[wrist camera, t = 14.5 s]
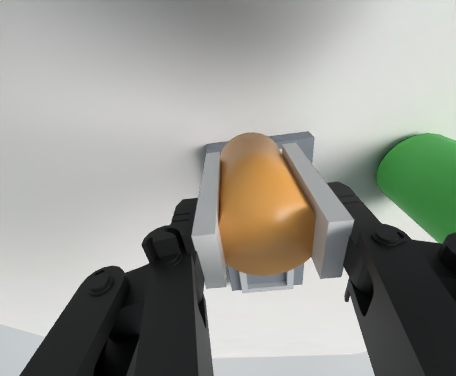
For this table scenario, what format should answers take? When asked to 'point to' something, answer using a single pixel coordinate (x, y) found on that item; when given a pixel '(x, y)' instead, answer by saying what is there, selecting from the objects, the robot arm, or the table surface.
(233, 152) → the pin
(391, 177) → the bottle
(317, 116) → the table surface
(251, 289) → the panel
